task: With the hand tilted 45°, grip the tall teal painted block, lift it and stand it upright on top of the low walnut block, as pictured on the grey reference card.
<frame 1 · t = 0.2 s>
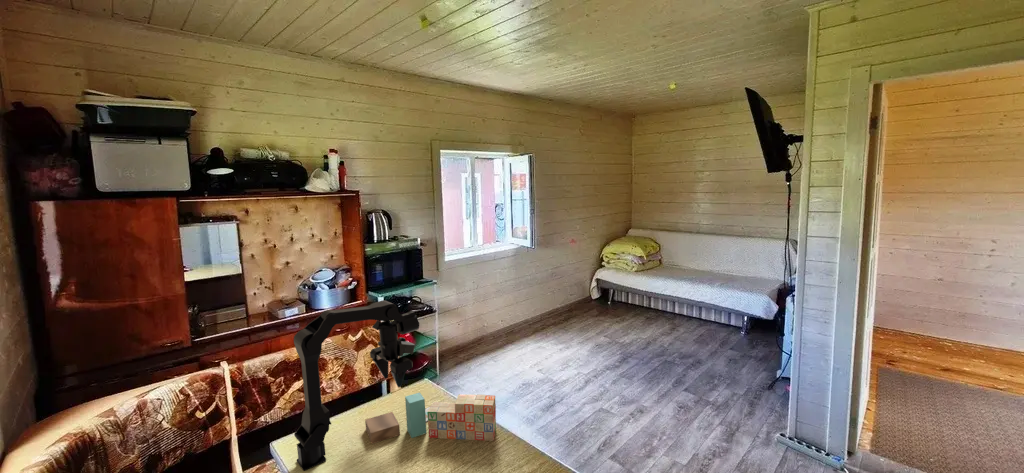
hand: (392, 382, 145), 15 cm above the table, tool pointing down, fingers open, 9 cm apart
walnut block: (382, 433, 141), on the table
teal block: (416, 431, 141), on the table
reference card: (429, 413, 152), on the table
stack of blocks: (463, 434, 140), on the table
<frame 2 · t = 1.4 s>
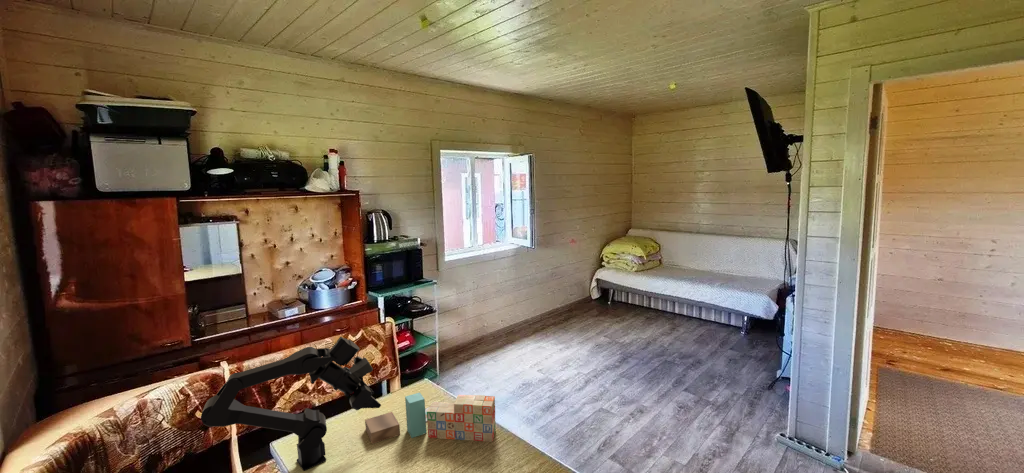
hand: (376, 399, 135), 14 cm above the table, tool tilted 45°, fingers open, 9 cm apart
nothing on the table moved.
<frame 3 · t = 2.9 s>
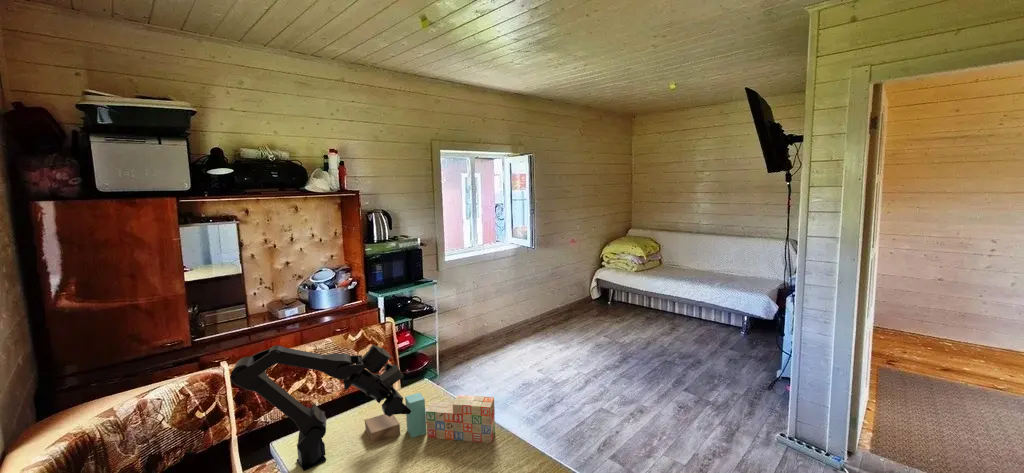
hand: (406, 405, 138), 10 cm above the table, tool tilted 45°, fingers open, 9 cm apart
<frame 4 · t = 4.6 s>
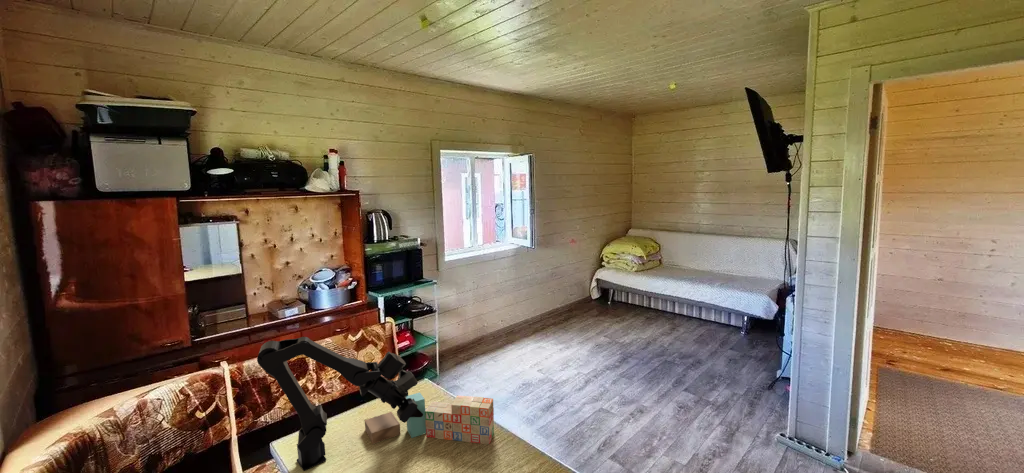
hand: (419, 411, 141), 7 cm above the table, tool tilted 45°, fingers closed on teal block, 5 cm apart
teal block: (416, 431, 141), on the table, touching gripper
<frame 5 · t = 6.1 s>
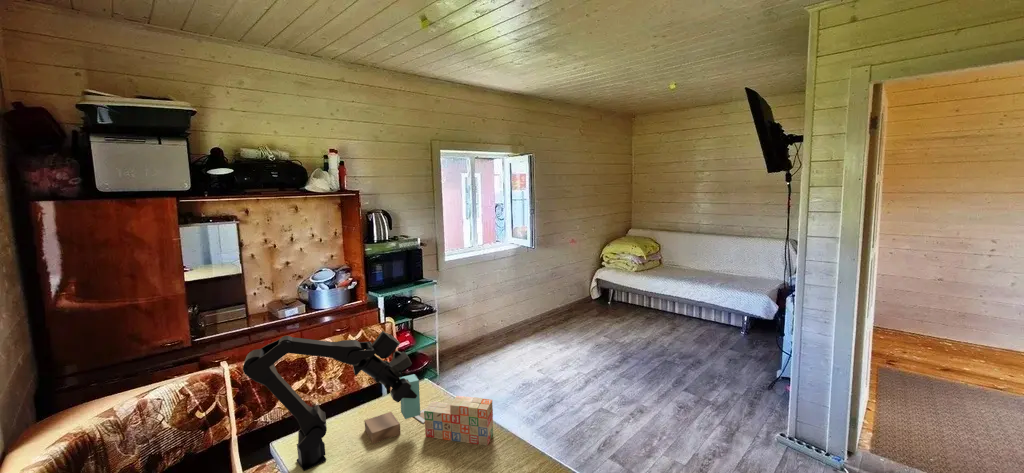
hand: (413, 393, 140), 13 cm above the table, tool tilted 45°, fingers closed on teal block, 5 cm apart
teal block: (410, 413, 140), point 7 cm above the table, touching gripper
when the fingers open (12 cm above the table, at t = 7.5 s): teal block drops 2 cm, resting on walnut block.
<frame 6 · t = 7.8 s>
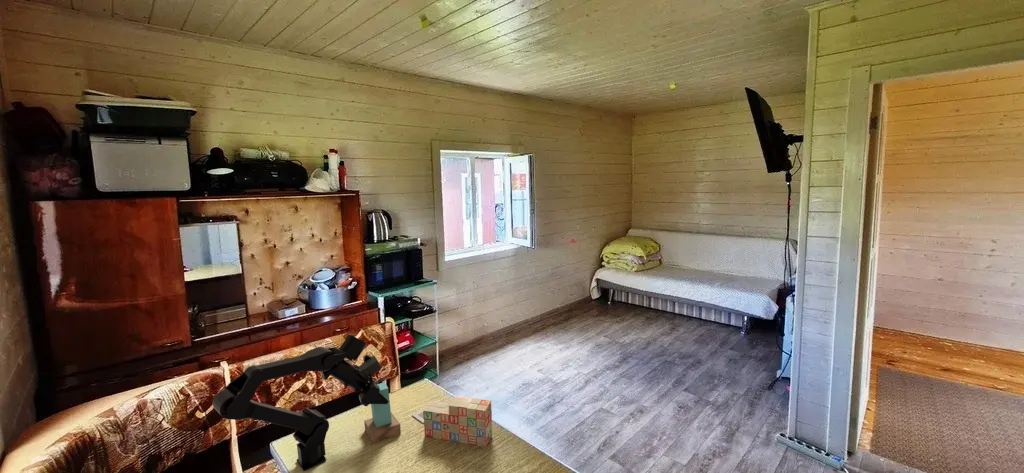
hand: (384, 396, 140), 12 cm above the table, tool tilted 45°, fingers open, 8 cm apart
walnut block: (382, 433, 141), on the table, touching teal block
teal block: (382, 421, 141), point 4 cm above the table, touching walnut block
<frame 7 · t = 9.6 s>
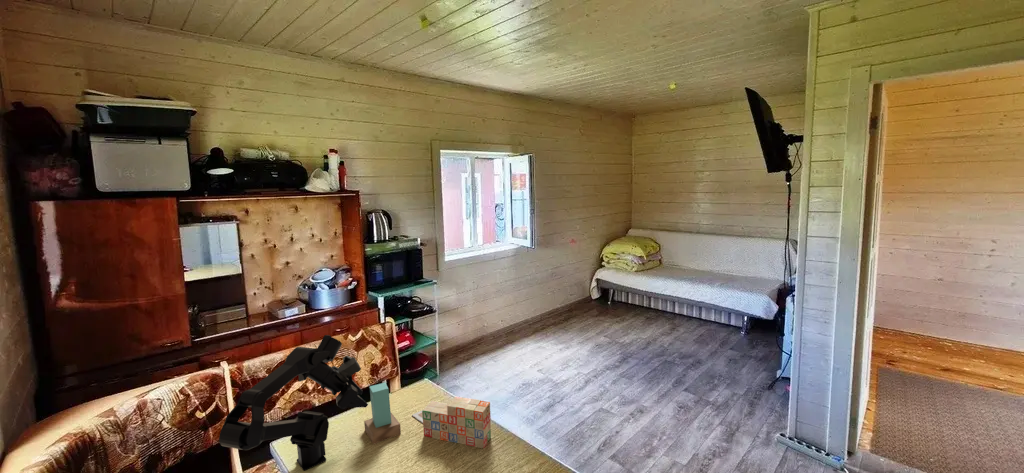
hand: (364, 399, 137), 13 cm above the table, tool tilted 45°, fingers open, 9 cm apart
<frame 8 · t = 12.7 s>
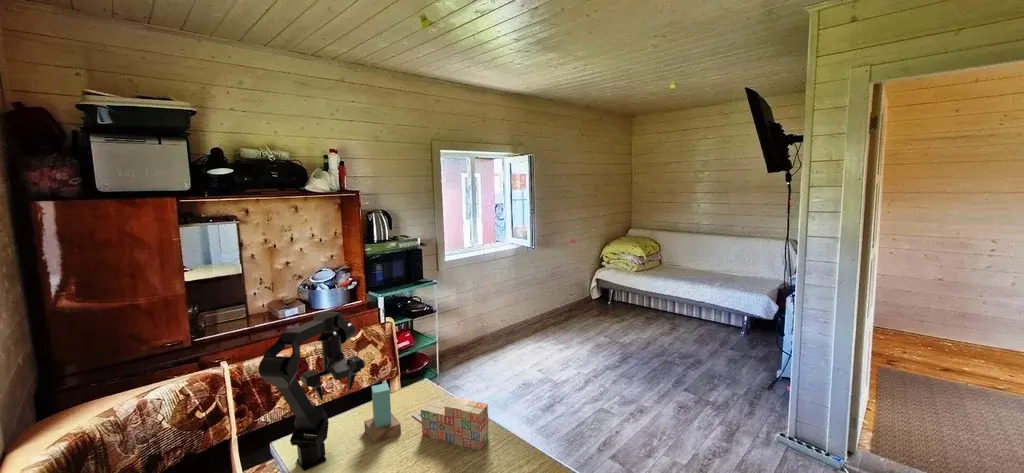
hand: (335, 395, 140), 13 cm above the table, tool pointing down, fingers open, 9 cm apart
at the end: teal block 0.1 cm off-centre on the walnut block, point 4.1 cm above the walnut block's base; teal block tilted 1°; the gripper is holding nothing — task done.
